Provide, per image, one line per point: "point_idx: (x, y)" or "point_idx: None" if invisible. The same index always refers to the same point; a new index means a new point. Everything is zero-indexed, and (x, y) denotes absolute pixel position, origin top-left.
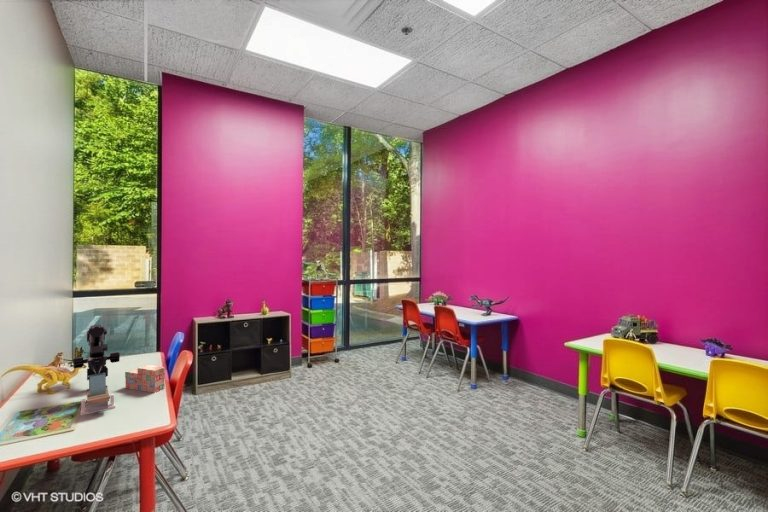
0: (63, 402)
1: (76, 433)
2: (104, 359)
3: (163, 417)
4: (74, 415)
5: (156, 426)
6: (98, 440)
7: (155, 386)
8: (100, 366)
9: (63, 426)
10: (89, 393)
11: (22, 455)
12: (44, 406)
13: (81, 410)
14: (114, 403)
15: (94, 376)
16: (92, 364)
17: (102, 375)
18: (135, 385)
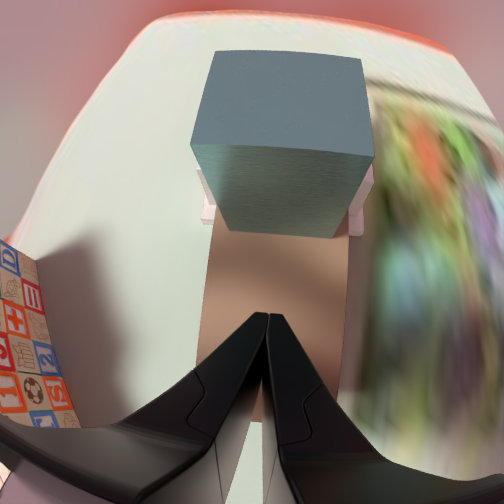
0: (424, 464)
1: None
2: (7, 421)
3: (141, 44)
4: (382, 205)
5: (177, 19)
6: (296, 17)
7: (11, 250)
8: (189, 379)
9: (399, 123)
10: (333, 275)
11: (434, 51)
12: (487, 445)
13: (359, 213)
14: (205, 203)
15: (318, 56)
16: (370, 455)
17: (244, 56)
18: (52, 394)
